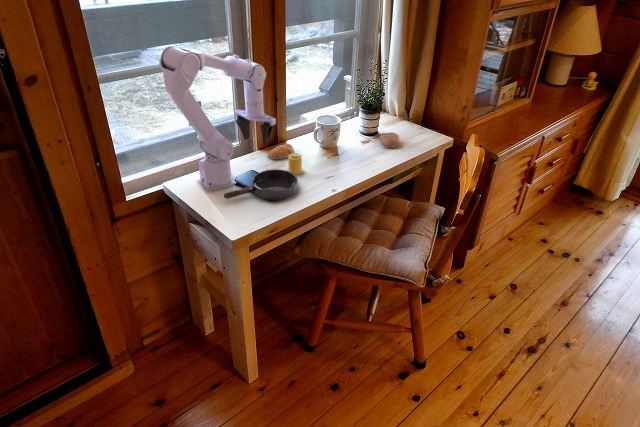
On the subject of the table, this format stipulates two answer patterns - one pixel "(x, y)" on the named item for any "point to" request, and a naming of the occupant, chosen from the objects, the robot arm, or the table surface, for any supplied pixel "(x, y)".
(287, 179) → the skillet
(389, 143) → the pinkish-brown rounded lump
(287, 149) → the pastry
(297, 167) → the yellow cylinder
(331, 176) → the table surface
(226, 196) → the skillet handle
